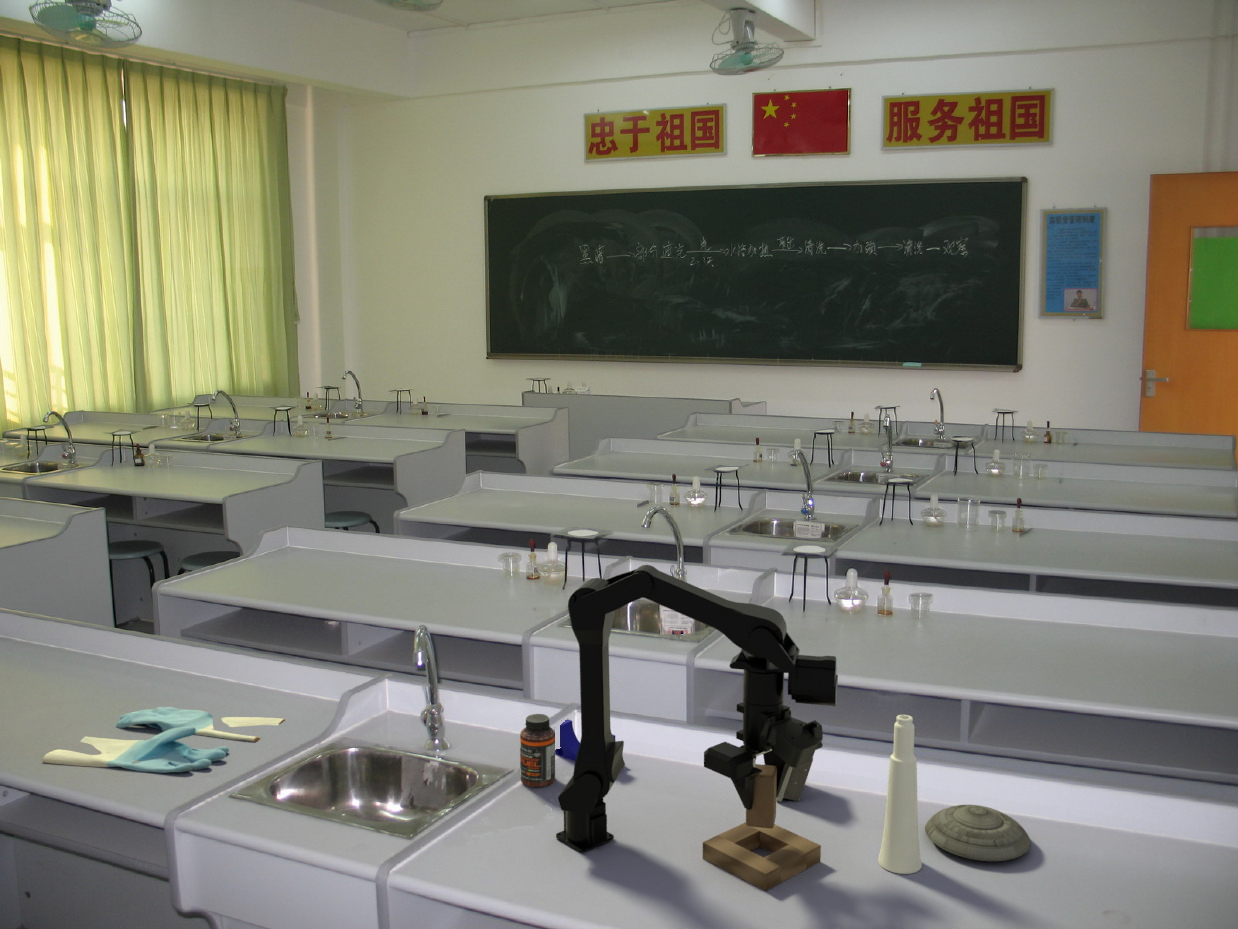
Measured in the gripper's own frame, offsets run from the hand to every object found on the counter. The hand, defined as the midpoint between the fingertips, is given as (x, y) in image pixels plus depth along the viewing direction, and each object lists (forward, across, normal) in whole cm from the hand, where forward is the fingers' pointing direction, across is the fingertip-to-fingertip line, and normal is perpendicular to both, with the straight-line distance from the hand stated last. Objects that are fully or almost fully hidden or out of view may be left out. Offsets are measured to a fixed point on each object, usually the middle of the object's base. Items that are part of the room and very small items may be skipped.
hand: (761, 803), depth 153 cm
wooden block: (+3, 0, 0) cm, 3 cm away
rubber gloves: (+10, -48, +104) cm, 115 cm away
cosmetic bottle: (+9, +14, -14) cm, 22 cm away
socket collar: (+9, 0, 0) cm, 9 cm away
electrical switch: (+9, +21, +12) cm, 26 cm away
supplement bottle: (+9, -8, +43) cm, 44 cm away
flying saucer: (+9, +28, -18) cm, 35 cm away
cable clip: (+9, +4, +44) cm, 45 cm away
